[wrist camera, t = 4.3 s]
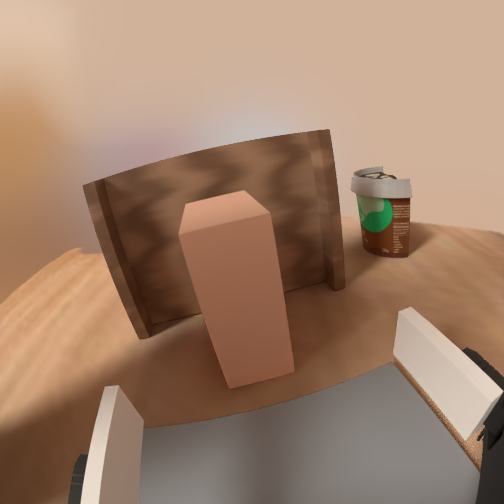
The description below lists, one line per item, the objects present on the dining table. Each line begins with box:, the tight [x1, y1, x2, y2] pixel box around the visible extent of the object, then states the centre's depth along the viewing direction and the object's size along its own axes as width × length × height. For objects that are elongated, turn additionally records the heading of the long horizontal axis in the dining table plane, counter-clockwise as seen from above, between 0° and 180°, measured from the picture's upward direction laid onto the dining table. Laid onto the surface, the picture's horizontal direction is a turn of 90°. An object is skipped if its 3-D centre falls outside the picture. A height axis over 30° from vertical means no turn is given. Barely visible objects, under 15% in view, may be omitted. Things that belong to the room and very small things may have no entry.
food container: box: [351, 167, 412, 258], centre depth 35 cm, size 12×6×10 cm, turn 171°
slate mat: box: [139, 362, 480, 504], centre depth 10 cm, size 18×13×1 cm
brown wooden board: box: [83, 129, 345, 339], centre depth 26 cm, size 22×4×16 cm, turn 101°
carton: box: [178, 190, 295, 389], centre depth 21 cm, size 5×9×12 cm, turn 11°
